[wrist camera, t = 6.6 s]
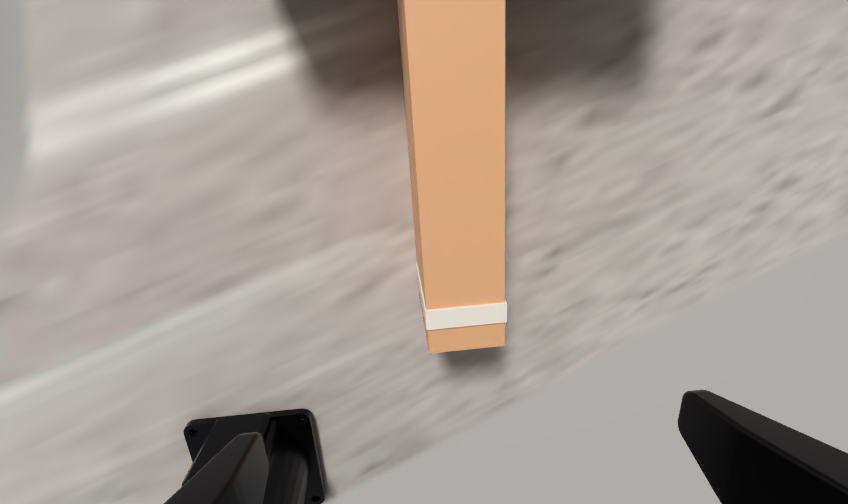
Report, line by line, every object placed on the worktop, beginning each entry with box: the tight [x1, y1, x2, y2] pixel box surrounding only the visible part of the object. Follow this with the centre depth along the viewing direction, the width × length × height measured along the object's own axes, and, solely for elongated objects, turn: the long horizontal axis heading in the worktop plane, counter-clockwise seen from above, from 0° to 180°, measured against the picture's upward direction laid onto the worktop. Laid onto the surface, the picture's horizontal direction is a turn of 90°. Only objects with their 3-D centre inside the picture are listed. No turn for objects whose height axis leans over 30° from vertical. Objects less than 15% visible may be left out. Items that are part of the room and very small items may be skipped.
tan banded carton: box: [397, 0, 507, 354], centre depth 16 cm, size 14×3×5 cm, turn 4°
